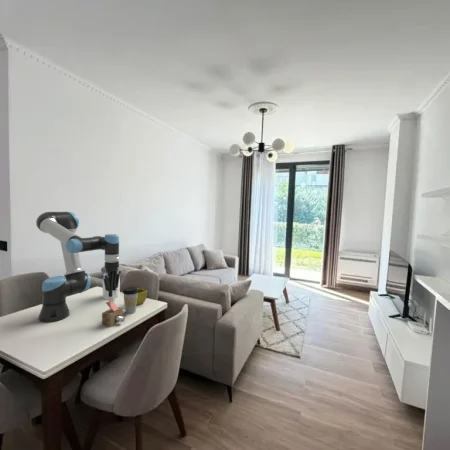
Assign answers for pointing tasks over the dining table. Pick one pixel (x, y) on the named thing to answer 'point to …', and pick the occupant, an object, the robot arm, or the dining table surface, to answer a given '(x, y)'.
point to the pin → (119, 318)
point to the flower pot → (141, 296)
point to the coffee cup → (130, 299)
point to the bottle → (106, 293)
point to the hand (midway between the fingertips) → (111, 301)
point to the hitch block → (111, 317)
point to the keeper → (112, 306)
